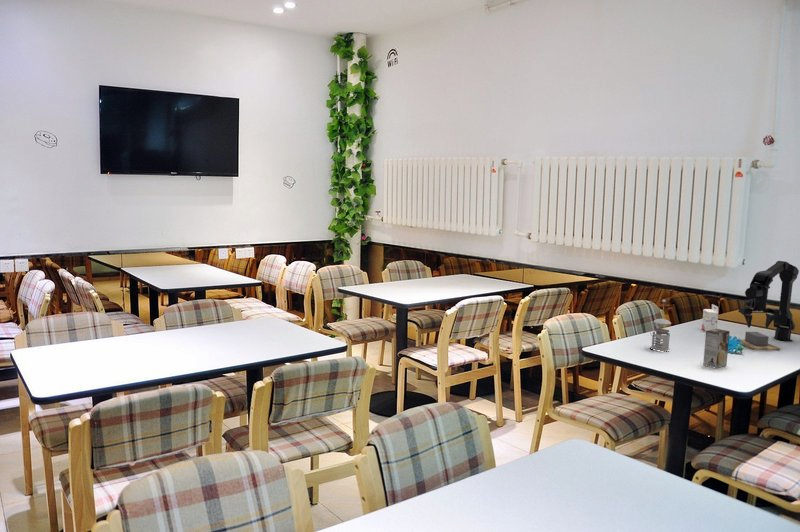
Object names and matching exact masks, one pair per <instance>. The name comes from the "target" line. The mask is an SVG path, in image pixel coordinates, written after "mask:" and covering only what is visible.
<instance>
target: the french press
mask: <svg viewBox="0 0 800 532" xmlns="http://www.w3.org/2000/svg"><path fill="white" fill-rule="evenodd" d="M661 302H662V303H667V300H666V299H662V300H661ZM664 310H665V305H663V308H662V312H664ZM671 324H672V322H671V321H670V320H667V319H664V316H662V317H661V318H657V319H655V320H653V323H652V324H651V325H650V327H649V334H650V335H651V338H652V339H651V346H650V347H649V348H652V349H655V350H660V351H668V350H670V351H671V349H670V348H669V347H670V335H671V333H670V330H669V329H665V328H663V327H661V328H655V326H658V325H661V326H670V325H671ZM652 328H653V331H652V333H651V329H652Z"/></svg>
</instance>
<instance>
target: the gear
mask: <svg viewBox="0 0 800 532" xmlns="http://www.w3.org/2000/svg"><path fill="white" fill-rule="evenodd" d="M734 339H737V340H734ZM740 339H741V338H740V337H739V338H737V336H736V335H734V336H732V335H729V343H728V352H729V353H730V354H734V351H735V353H738V352H740V354H742V353H743V351H744V350H745V346H743V345H742V342H740V341H741V340H740ZM737 341H739V342H737Z"/></svg>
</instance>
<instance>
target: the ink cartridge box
mask: <svg viewBox="0 0 800 532" xmlns="http://www.w3.org/2000/svg"><path fill="white" fill-rule="evenodd" d="M702 311H703V312H702V322H701V330H702V331H703V332H704V331H705V332H706V331H708V330H712V329H718V319H719V306H717V305H715V304H713V303H712V304H711V309H710V308H704V309H703V310H702Z"/></svg>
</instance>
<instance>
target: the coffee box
mask: <svg viewBox="0 0 800 532" xmlns="http://www.w3.org/2000/svg"><path fill="white" fill-rule="evenodd" d="M729 336H730V331H729V330H725V329H720V328H717V329H712V330H708V331H705V340H704V350H703V351H704V352H703V360H702V361H703V363H702V365H703V366H705V365H707V366H706V367H708V366H711V367H710V368H712V367H715V368H714V369H719V368H723V367H725V366H727V364H728V353H729V351H728V343H729ZM718 367H719V368H718Z"/></svg>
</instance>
